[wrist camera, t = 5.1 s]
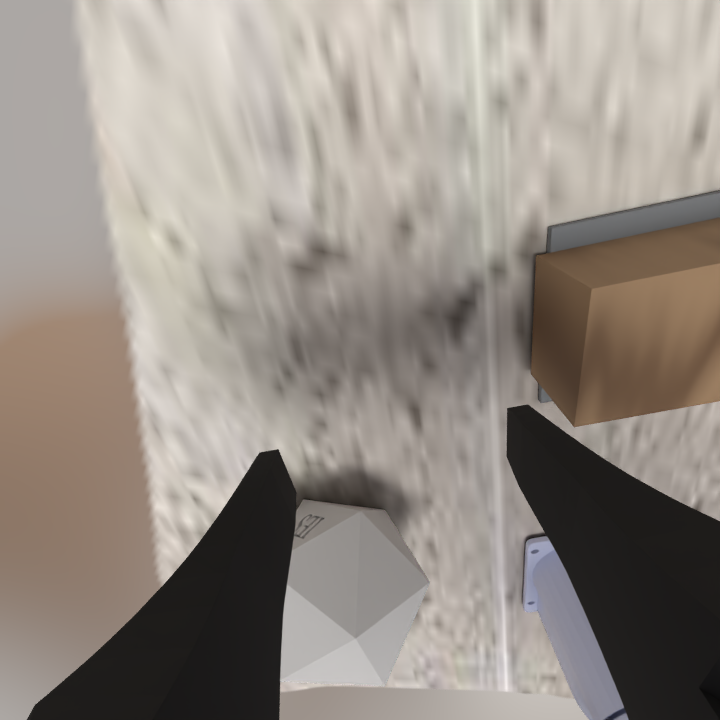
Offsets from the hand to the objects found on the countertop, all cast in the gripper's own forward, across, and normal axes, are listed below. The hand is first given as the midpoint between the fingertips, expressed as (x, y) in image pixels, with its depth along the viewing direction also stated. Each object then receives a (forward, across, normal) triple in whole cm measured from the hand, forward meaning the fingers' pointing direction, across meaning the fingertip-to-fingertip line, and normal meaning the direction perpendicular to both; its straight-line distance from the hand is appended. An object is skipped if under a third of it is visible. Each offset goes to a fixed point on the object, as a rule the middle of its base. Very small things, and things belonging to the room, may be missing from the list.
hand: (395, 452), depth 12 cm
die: (+7, +4, +12) cm, 15 cm away
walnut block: (+5, -7, 0) cm, 9 cm away
